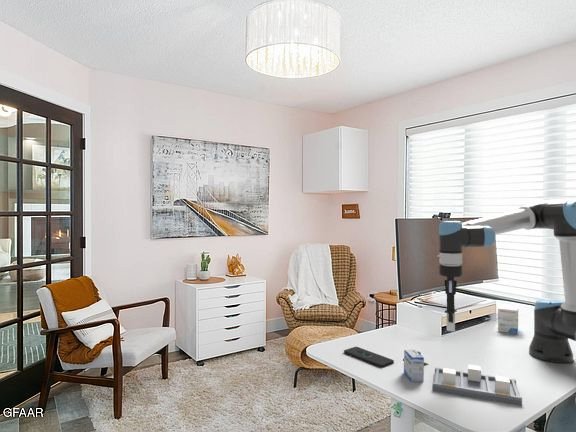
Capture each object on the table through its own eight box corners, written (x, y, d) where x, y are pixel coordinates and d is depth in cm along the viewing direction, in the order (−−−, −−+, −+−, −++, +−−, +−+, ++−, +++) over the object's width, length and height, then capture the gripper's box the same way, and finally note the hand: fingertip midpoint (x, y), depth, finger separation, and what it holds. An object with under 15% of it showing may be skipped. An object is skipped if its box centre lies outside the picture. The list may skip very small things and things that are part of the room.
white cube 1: (508, 389, 130) (508, 377, 130) (509, 394, 126) (510, 382, 126) (494, 387, 132) (494, 375, 132) (495, 392, 128) (496, 380, 128)
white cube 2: (480, 377, 139) (480, 366, 139) (480, 382, 136) (481, 370, 136) (467, 375, 141) (467, 364, 141) (468, 380, 137) (468, 368, 137)
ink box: (518, 329, 199) (518, 306, 199) (517, 334, 192) (517, 310, 191) (499, 327, 203) (499, 304, 203) (497, 331, 196) (497, 307, 196)
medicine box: (403, 372, 147) (403, 349, 147) (415, 372, 148) (415, 349, 147) (411, 381, 139) (412, 357, 139) (424, 381, 140) (424, 357, 139)
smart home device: (356, 345, 172) (394, 359, 156) (356, 349, 172) (394, 364, 156) (343, 350, 167) (381, 365, 151) (343, 354, 167) (381, 369, 151)
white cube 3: (455, 381, 136) (455, 369, 136) (455, 386, 133) (455, 374, 133) (443, 379, 138) (443, 367, 138) (442, 383, 134) (442, 372, 134)
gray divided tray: (515, 385, 136) (515, 378, 136) (522, 405, 123) (522, 398, 123) (435, 373, 147) (435, 366, 147) (432, 390, 133) (432, 383, 133)
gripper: (439, 261, 148) (440, 324, 149) (438, 266, 136) (438, 334, 137) (461, 262, 145) (462, 326, 146) (462, 267, 133) (462, 337, 134)
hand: (450, 330), depth 141 cm, fingers closed
